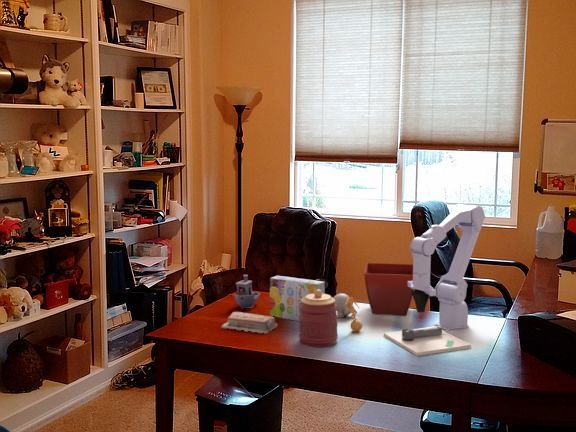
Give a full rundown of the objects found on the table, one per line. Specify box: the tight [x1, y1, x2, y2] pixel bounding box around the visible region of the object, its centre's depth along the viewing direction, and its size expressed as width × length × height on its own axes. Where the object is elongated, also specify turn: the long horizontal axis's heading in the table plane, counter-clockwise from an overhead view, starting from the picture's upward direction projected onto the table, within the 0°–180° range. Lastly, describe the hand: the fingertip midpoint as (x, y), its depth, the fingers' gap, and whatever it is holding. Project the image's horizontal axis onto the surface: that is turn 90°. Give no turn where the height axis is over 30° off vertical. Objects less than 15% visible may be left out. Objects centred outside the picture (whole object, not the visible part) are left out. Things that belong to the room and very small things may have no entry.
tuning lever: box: [401, 326, 443, 341], centre depth 214 cm, size 14×4×3 cm, turn 111°
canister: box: [298, 289, 339, 348], centre depth 213 cm, size 13×13×18 cm
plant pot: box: [363, 262, 415, 317], centre depth 249 cm, size 19×19×17 cm
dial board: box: [383, 326, 472, 357], centre depth 213 cm, size 20×21×1 cm
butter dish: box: [220, 311, 279, 335], centre depth 231 cm, size 18×5×10 cm
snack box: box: [269, 275, 326, 322], centre depth 240 cm, size 21×6×15 cm, turn 58°
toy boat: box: [233, 274, 261, 309], centre depth 256 cm, size 15×8×13 cm, turn 158°
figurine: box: [345, 296, 363, 333], centre depth 225 cm, size 8×6×12 cm
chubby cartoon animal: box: [333, 292, 352, 319], centre depth 244 cm, size 7×12×8 cm, turn 57°
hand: (420, 311), depth 220 cm, fingers closed
